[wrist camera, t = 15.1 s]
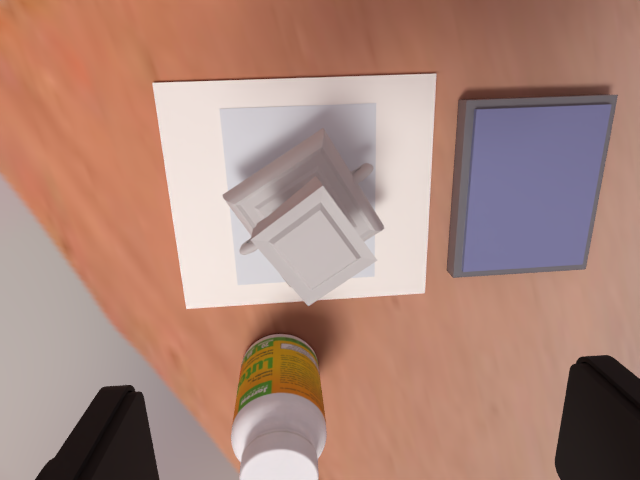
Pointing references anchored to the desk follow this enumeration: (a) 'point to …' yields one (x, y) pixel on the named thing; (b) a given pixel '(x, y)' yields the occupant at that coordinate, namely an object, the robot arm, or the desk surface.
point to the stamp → (308, 217)
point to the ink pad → (527, 183)
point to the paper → (272, 142)
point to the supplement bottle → (279, 411)
